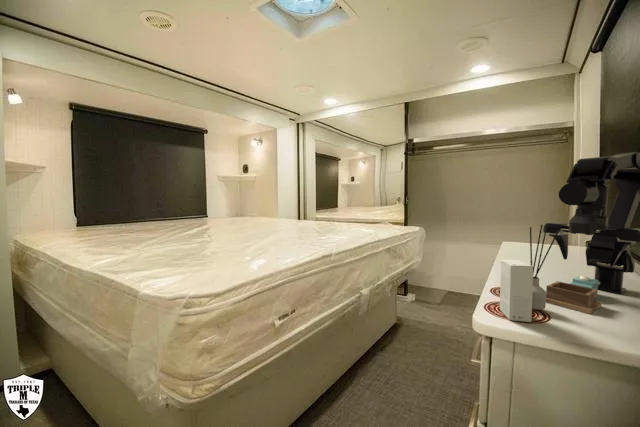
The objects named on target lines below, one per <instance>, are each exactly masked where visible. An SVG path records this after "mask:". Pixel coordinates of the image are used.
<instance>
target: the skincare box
mask: <svg viewBox="0 0 640 427" xmlns="http://www.w3.org/2000/svg"><path fill="white" fill-rule="evenodd" d="M533 266H534V265H532V266H531V264H529V263H527V262H525V261H522V260H520V259H518V260H517V259H501V260H500V283H499V284H500V285H499V286H500V289H499V311H500V312H501V313H502V314H503V315H504V316H505V317H506V318H507V319H508V320H509V321H514V322H516V321H517V322H527V323H531V322H532V320H533V319H532V317H533V316H532V315H533V308H532V288H533V277H534V273H533Z"/></svg>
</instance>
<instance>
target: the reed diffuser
mask: <svg viewBox="0 0 640 427" xmlns="http://www.w3.org/2000/svg"><path fill="white" fill-rule="evenodd" d="M542 229H543V224H540V229H539V235H538V239H537V244H536V251H535V257H534V259H533V250H532V248H533V241H532V239H533V238H532V237H533V236H532V227H531V226H530V227H529V244H530V245H529V246H530V249H529V250H530V251H529V252H530V253H529V254H530V265H531V266H533V274H534V272H535V274H534V276H533V288H532V310H533V309H534V310H545V309H546V303H547V302H546V290H545V289H544V288H543V287H542V286H540V278H539V277H538V274H539V272H540V270H541V268H542V267H543V264H544V262H545V260H546V258H547V256H548V254H549V252H550V249H551V248H552V246H553V244H554V242H555V241H556V240H555V238H556V236H557V234H558V232H559V230H558V231H557V233H556V235H555V237H553V239H552V241H551V243H550V245H549V247H548V248H547V252H546V253H545V255H544V257H543V258H542V254H543V249H544V244H545V240H546V235H547V233H546V231H547V226H546V229H545V233H544V232H543V233H544V235H543V239H542V242H541V243H542V244H541V249H540V253H539V259H538V263H537V267H536V262H537V257H538V252H539V248H540V247H539V245H540V241H541V234H542ZM541 259H542V261H541ZM533 260H534V262H533ZM540 262H541V264H540ZM535 267H536V271H535Z"/></svg>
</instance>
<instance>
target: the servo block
mask: <svg viewBox="0 0 640 427" xmlns="http://www.w3.org/2000/svg"><path fill="white" fill-rule="evenodd" d="M569 284H573V285H578V286H582V287H587V288H592V289H596V290H598V291H599V289H598V285H600V282H598V280H596V279H594V278H589V277H588V276H583V275H581V276H579V275H578V276H575V277H574V278H572V282H570V283H569Z"/></svg>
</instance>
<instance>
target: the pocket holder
mask: <svg viewBox="0 0 640 427" xmlns="http://www.w3.org/2000/svg"><path fill="white" fill-rule="evenodd" d="M545 288H546V290H545V291H546V303H548V304H552V305H554V306H558V307H562V308H566V309H570V310H573V311H577V312H580V313H584V314H587V315H592V314H593V313H594V312H595V311H597V310H598V309H599V308H601V307H602V301H599V300H598V293H599V289H598V290H596V289H592V288H587V287H582V286H578V285H573V284H570V283H568V282H562V281H558V280H557V281H555V282H553V283H551V284H548V285H546V287H545Z"/></svg>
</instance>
